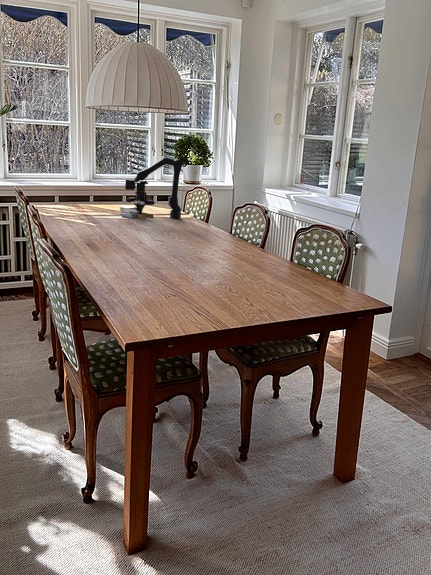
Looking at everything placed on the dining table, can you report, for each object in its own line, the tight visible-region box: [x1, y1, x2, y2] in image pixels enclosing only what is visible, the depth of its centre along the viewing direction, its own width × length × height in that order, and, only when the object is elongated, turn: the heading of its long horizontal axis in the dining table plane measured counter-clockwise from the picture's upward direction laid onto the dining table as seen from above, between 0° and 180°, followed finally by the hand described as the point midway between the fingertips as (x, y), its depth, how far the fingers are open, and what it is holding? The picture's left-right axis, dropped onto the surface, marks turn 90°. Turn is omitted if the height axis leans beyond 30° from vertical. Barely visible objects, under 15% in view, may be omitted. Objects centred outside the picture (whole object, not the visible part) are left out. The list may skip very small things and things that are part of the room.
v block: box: [121, 212, 138, 220], centre depth 347 cm, size 8×6×3 cm
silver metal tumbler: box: [119, 205, 139, 214], centre depth 355 cm, size 13×6×6 cm, turn 62°
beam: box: [120, 211, 154, 220], centre depth 353 cm, size 22×9×3 cm, turn 61°
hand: (140, 214), depth 351 cm, fingers closed
